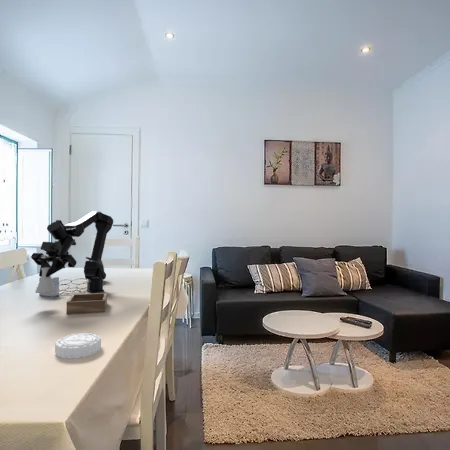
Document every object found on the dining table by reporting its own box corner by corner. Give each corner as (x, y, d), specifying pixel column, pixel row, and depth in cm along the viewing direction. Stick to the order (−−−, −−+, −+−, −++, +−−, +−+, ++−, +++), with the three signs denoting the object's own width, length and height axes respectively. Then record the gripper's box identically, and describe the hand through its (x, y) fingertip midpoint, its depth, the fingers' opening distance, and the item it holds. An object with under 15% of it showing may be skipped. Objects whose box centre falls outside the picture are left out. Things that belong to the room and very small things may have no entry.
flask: (47, 294, 136) (47, 269, 136) (31, 293, 138) (31, 268, 137) (59, 290, 143) (59, 266, 143) (44, 289, 145) (44, 266, 144)
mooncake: (106, 343, 104) (106, 331, 104) (92, 359, 92) (92, 346, 92) (66, 343, 103) (66, 331, 103) (46, 359, 91) (46, 346, 91)
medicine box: (59, 295, 164) (59, 277, 164) (51, 297, 160) (52, 278, 159) (46, 293, 166) (46, 275, 166) (38, 295, 162) (39, 277, 162)
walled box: (72, 305, 146) (72, 294, 146) (106, 303, 150) (106, 292, 149) (66, 314, 132) (66, 302, 132) (104, 312, 136) (104, 300, 136)
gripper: (34, 233, 146) (12, 263, 135) (72, 235, 141) (52, 265, 131) (47, 250, 154) (28, 279, 143) (84, 252, 149) (66, 282, 139)
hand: (43, 276), depth 139 cm, fingers closed on flask, 3 cm apart
